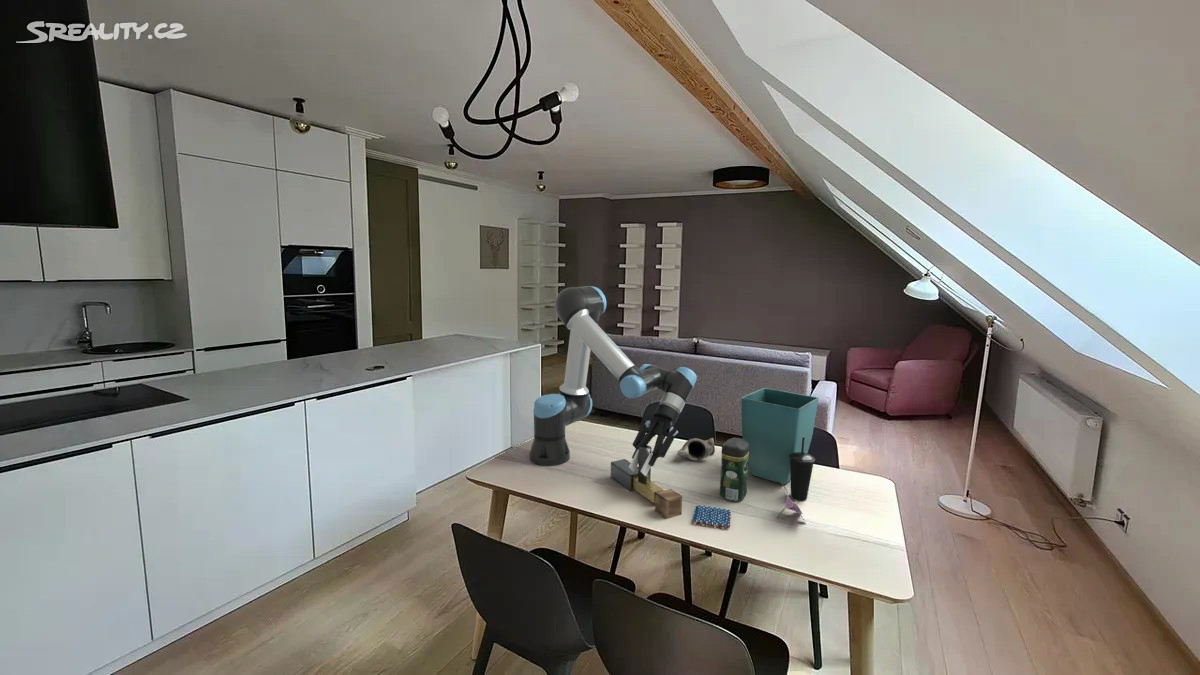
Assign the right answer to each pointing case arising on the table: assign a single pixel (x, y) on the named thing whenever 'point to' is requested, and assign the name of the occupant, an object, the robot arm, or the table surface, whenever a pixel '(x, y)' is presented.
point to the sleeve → (623, 473)
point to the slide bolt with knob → (645, 477)
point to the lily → (791, 505)
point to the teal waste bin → (776, 430)
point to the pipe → (697, 449)
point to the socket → (668, 503)
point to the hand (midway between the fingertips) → (637, 471)
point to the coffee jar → (734, 469)
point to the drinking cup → (800, 473)
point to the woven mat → (711, 517)
